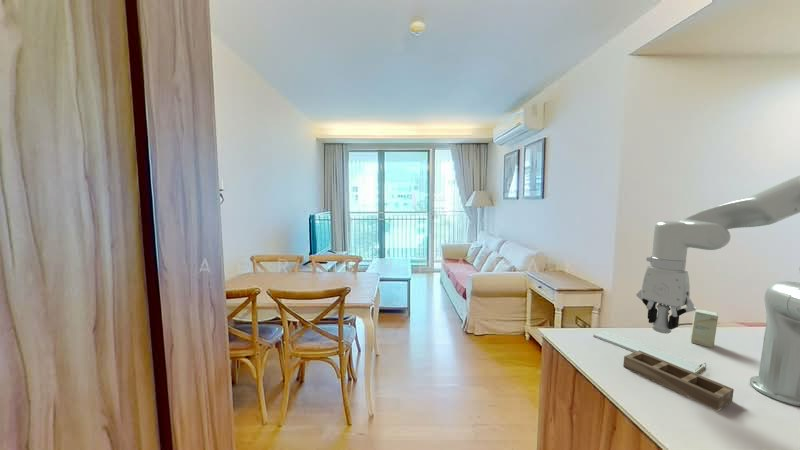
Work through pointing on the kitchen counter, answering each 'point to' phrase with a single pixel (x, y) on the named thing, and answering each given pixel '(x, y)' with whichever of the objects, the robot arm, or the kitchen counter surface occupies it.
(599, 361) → the kitchen counter surface
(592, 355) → the kitchen counter surface
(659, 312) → the rook chess piece
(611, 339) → the baseboard
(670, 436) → the kitchen counter surface
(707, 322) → the skincare box
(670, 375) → the rack
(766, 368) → the robot arm
